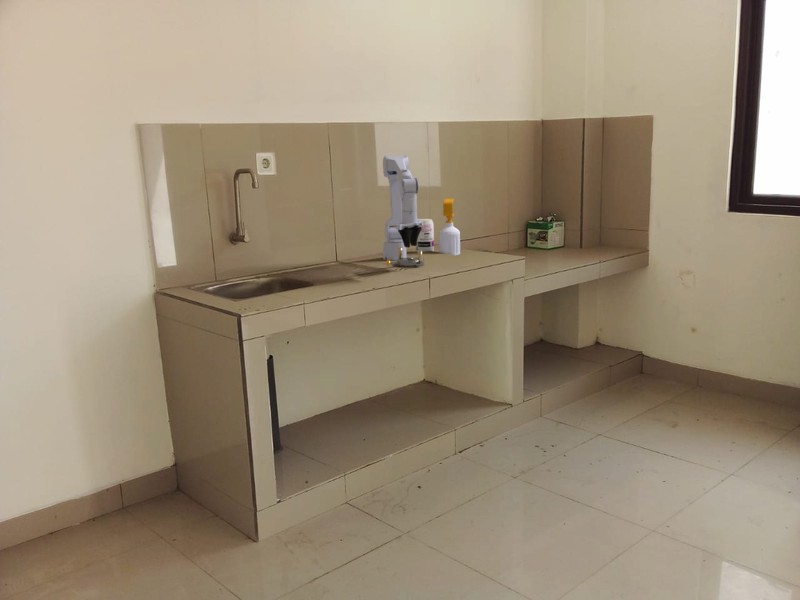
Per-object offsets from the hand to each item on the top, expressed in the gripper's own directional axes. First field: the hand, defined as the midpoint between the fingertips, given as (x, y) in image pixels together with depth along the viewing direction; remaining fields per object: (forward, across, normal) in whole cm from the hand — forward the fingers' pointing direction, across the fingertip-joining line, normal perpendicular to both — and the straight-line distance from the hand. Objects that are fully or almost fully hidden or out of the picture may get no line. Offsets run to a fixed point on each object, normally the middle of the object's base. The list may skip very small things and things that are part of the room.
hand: (410, 246), depth 259 cm
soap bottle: (+11, +42, +11) cm, 45 cm away
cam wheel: (+9, +5, +8) cm, 13 cm away
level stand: (+10, +6, +6) cm, 14 cm away
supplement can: (+11, +42, +25) cm, 50 cm away
